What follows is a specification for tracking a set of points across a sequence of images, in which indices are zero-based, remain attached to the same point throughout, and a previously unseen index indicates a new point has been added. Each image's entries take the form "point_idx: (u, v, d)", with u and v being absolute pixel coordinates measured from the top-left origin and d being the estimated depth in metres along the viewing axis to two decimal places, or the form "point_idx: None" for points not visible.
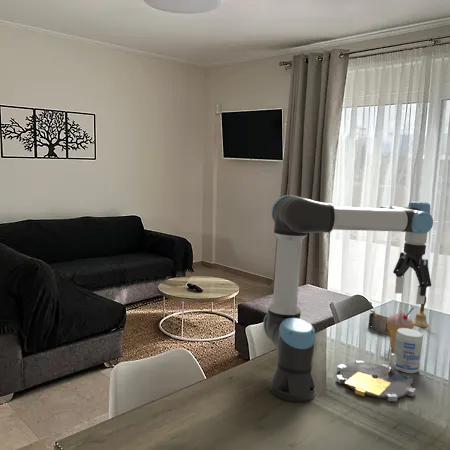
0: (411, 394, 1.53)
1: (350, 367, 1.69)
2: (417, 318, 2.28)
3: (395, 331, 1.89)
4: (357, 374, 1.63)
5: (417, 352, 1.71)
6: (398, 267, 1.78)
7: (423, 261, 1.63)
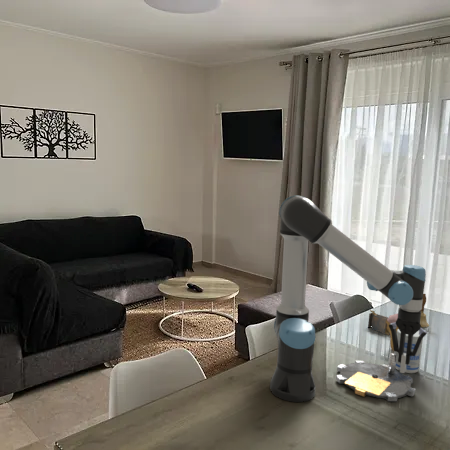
0: (411, 394, 1.53)
1: (350, 367, 1.69)
2: None
3: None
4: (357, 374, 1.63)
5: (417, 352, 1.71)
6: (396, 341, 1.64)
7: None
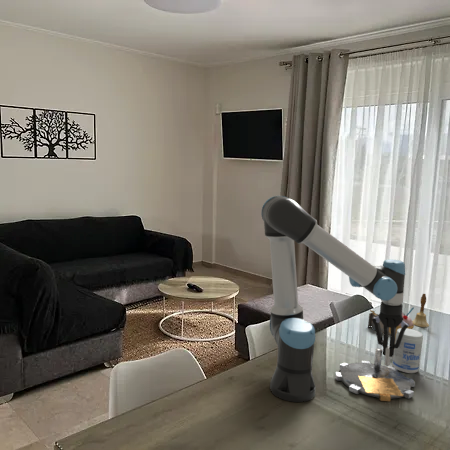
0: (413, 385, 1.60)
1: (347, 373, 1.64)
2: (417, 318, 2.28)
3: None
4: (362, 379, 1.59)
5: (417, 352, 1.71)
6: (380, 335, 1.68)
7: (407, 327, 1.62)
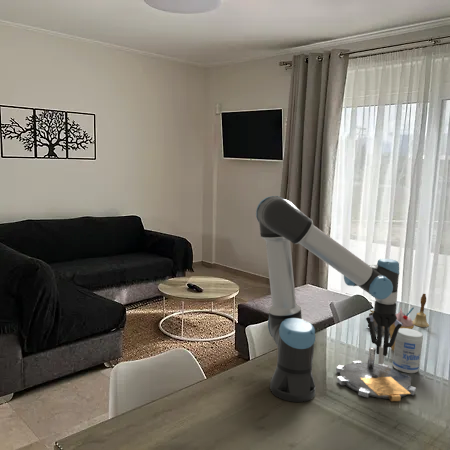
0: (410, 380, 1.64)
1: (348, 376, 1.61)
2: (417, 318, 2.28)
3: None
4: (366, 381, 1.58)
5: (417, 352, 1.71)
6: (373, 334, 1.69)
7: (400, 326, 1.63)
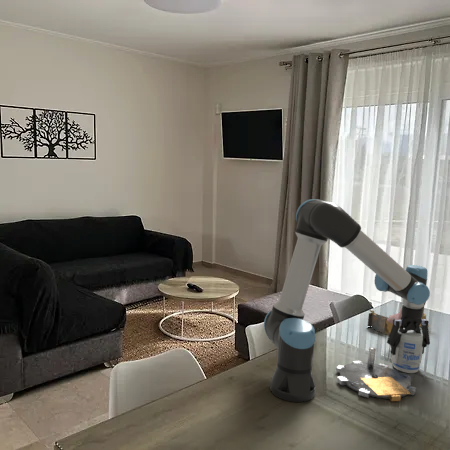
0: (410, 380, 1.64)
1: (348, 376, 1.61)
2: None
3: None
4: (366, 381, 1.58)
5: (417, 352, 1.71)
6: (423, 335, 1.76)
7: (394, 321, 1.73)
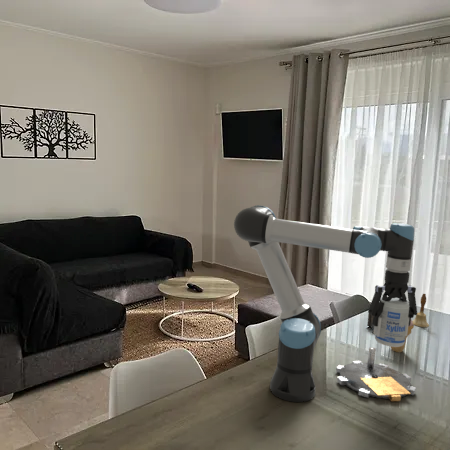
0: (410, 380, 1.64)
1: (348, 376, 1.61)
2: (417, 318, 2.28)
3: None
4: (366, 381, 1.58)
5: (402, 322, 1.48)
6: (409, 304, 1.54)
7: (376, 287, 1.51)
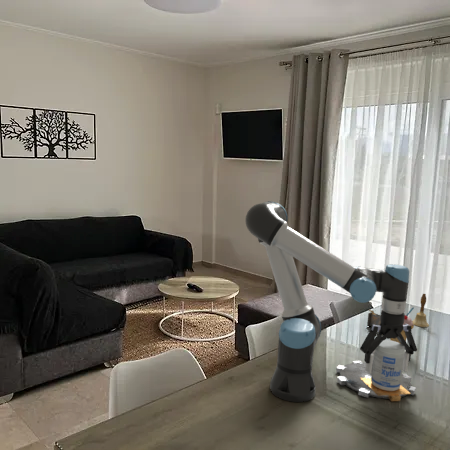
0: (410, 380, 1.64)
1: (348, 376, 1.61)
2: (417, 318, 2.28)
3: None
4: (366, 381, 1.58)
5: (398, 367, 1.50)
6: (408, 341, 1.56)
7: (371, 326, 1.52)
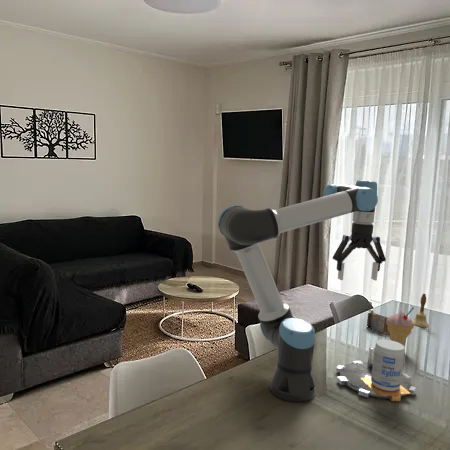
0: (410, 380, 1.64)
1: (348, 376, 1.61)
2: (417, 318, 2.28)
3: (395, 331, 1.89)
4: (366, 381, 1.58)
5: (398, 367, 1.50)
6: (378, 252, 1.70)
7: (343, 236, 1.66)
